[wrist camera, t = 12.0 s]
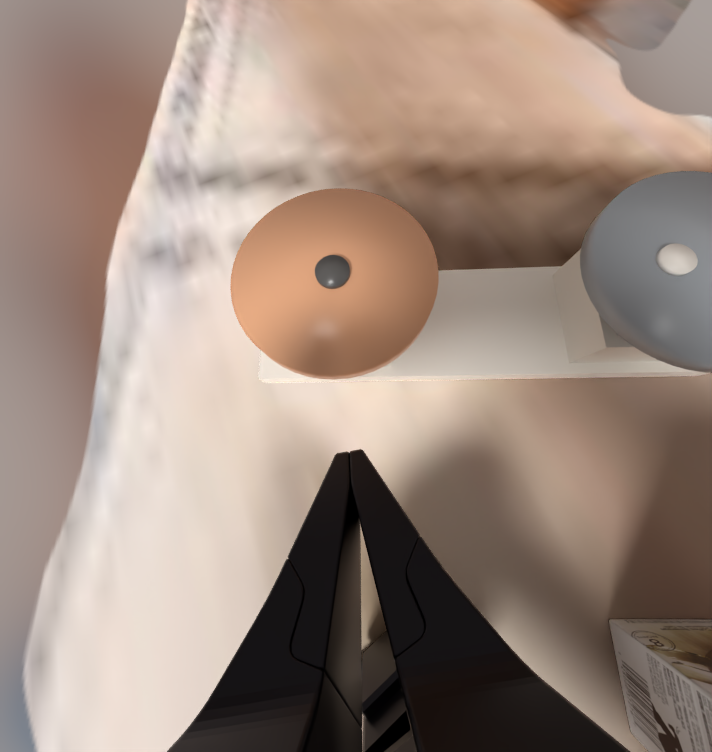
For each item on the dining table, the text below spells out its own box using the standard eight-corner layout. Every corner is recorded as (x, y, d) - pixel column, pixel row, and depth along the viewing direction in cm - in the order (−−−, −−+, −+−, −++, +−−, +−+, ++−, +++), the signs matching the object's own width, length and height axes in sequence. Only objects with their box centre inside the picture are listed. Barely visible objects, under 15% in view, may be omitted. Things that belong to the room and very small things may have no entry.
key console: (666, 273, 24) (739, 229, 20) (697, 376, 22) (788, 356, 17) (271, 285, 26) (249, 249, 21) (264, 382, 24) (238, 366, 19)
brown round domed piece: (416, 248, 24) (432, 179, 17) (425, 393, 21) (448, 370, 15) (272, 254, 24) (238, 189, 18) (261, 395, 21) (217, 374, 15)
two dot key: (682, 238, 23) (798, 160, 16) (731, 389, 20) (893, 363, 14) (525, 244, 23) (579, 172, 17) (549, 391, 20) (626, 367, 14)
